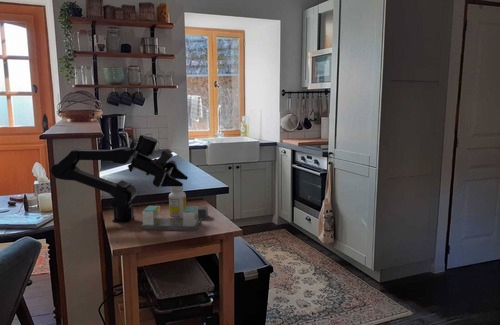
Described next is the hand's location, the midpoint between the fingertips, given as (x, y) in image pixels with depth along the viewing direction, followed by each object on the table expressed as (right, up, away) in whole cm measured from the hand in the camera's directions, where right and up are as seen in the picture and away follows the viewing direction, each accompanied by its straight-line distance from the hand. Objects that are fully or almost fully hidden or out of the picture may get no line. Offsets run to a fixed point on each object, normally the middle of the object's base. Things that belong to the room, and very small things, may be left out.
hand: (185, 181), depth 148 cm
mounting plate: (-4, -16, -4) cm, 17 cm away
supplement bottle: (-4, -15, +6) cm, 16 cm away
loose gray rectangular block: (+5, -15, +6) cm, 17 cm away
